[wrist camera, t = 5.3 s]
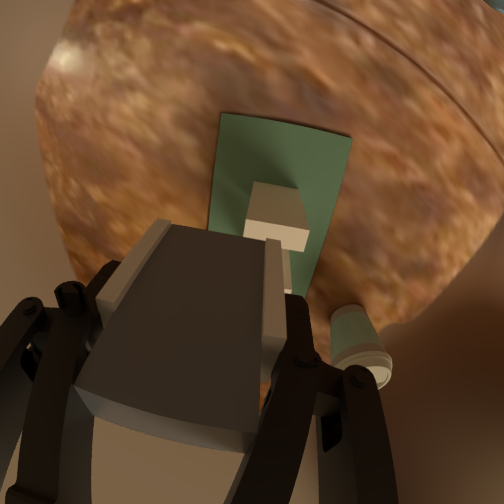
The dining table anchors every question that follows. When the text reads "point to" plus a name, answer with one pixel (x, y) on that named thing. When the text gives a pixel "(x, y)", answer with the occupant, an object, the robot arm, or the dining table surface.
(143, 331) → the slate domino
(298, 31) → the dining table surface
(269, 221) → the domino
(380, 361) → the coffee cup
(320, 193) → the mat
